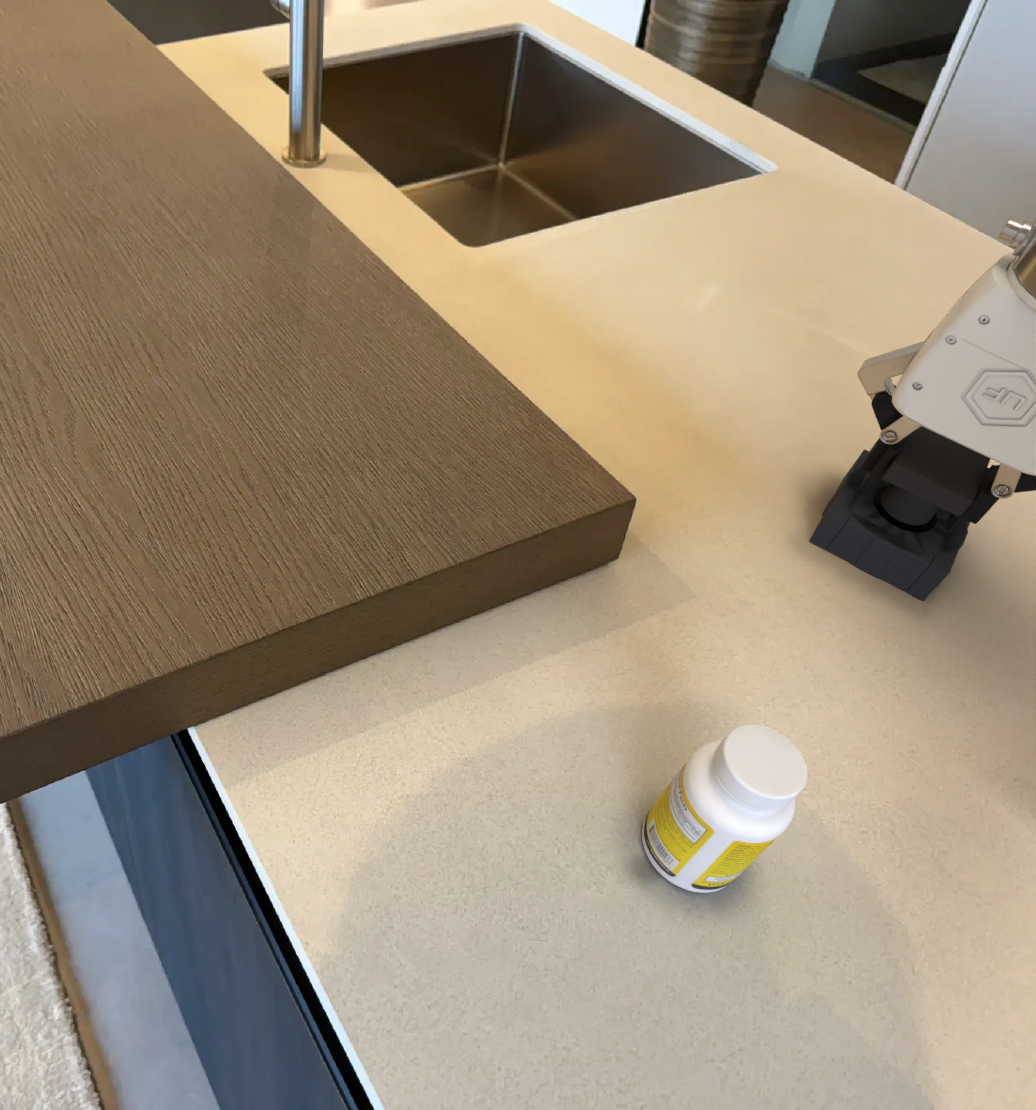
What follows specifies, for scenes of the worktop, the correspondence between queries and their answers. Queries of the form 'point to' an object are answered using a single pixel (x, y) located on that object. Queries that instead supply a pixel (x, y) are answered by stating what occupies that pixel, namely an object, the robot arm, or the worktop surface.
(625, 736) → the worktop surface
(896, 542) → the base pad
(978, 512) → the robot arm
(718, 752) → the supplement bottle
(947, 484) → the top pad
